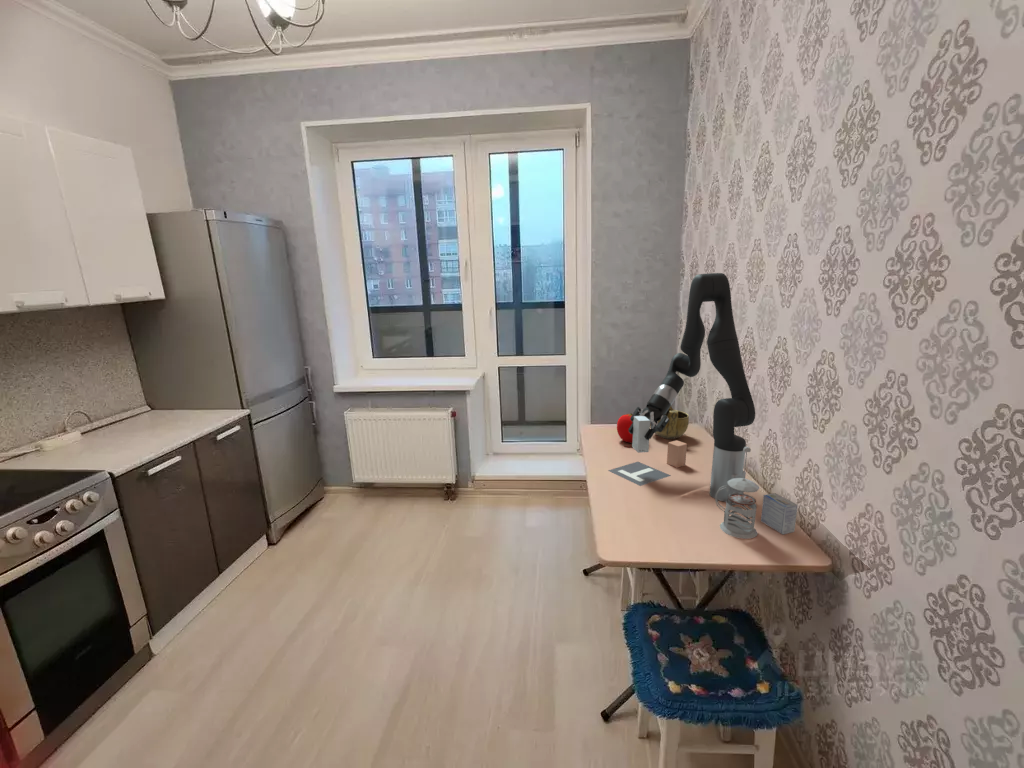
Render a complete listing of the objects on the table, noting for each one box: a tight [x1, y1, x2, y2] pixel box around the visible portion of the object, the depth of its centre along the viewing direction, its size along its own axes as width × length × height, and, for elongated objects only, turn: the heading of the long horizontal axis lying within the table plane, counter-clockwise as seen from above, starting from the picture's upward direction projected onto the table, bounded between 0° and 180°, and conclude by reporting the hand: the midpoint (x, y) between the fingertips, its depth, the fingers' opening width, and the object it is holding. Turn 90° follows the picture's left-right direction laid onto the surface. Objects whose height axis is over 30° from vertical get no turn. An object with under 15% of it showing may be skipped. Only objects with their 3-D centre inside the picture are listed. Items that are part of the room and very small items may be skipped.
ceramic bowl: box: [650, 405, 690, 440], centre depth 210 cm, size 22×17×15 cm
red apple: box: [616, 413, 633, 444], centre depth 205 cm, size 11×11×13 cm
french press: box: [714, 446, 760, 540], centre depth 131 cm, size 10×12×25 cm
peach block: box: [666, 440, 688, 469], centre depth 178 cm, size 5×5×9 cm
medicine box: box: [760, 492, 798, 535], centre depth 134 cm, size 8×4×9 cm, turn 17°
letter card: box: [607, 461, 672, 487], centre depth 172 cm, size 16×16×1 cm
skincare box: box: [631, 416, 651, 454], centre depth 169 cm, size 6×4×12 cm
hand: (638, 435), depth 168 cm, fingers closed on skincare box, 7 cm apart
